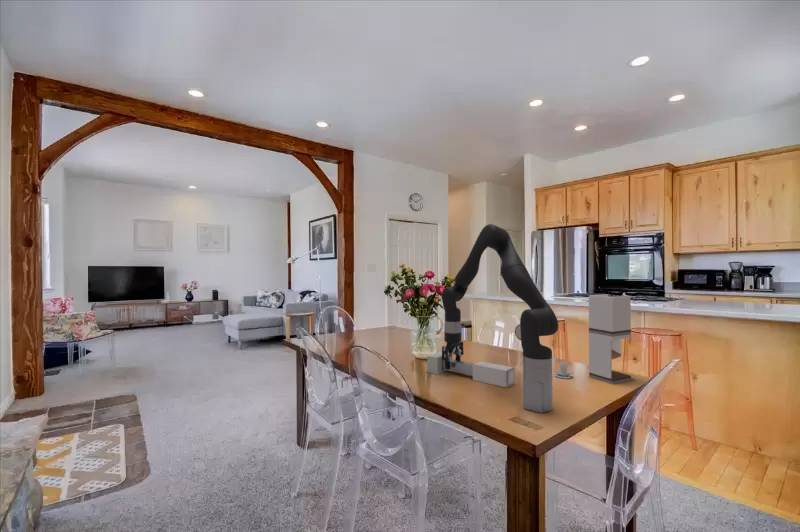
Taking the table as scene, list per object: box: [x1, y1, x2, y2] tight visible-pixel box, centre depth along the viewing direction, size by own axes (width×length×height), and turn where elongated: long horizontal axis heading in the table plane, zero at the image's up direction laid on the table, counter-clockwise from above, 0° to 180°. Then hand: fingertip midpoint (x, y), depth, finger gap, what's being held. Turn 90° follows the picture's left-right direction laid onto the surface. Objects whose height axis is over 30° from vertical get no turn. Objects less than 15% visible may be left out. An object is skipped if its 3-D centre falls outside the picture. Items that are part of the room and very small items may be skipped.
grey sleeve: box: [472, 360, 515, 389], centre depth 150 cm, size 6×16×7 cm, turn 49°
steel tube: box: [442, 358, 475, 376], centre depth 160 cm, size 4×26×4 cm, turn 49°
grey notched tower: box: [588, 293, 632, 385], centre depth 153 cm, size 11×11×35 cm
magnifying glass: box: [514, 323, 521, 341], centre depth 175 cm, size 9×2×20 cm, turn 57°
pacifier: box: [554, 361, 574, 380], centre depth 157 cm, size 7×6×6 cm
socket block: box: [426, 350, 453, 375], centre depth 168 cm, size 12×6×7 cm, turn 139°
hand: (453, 367), depth 163 cm, fingers open, 8 cm apart
